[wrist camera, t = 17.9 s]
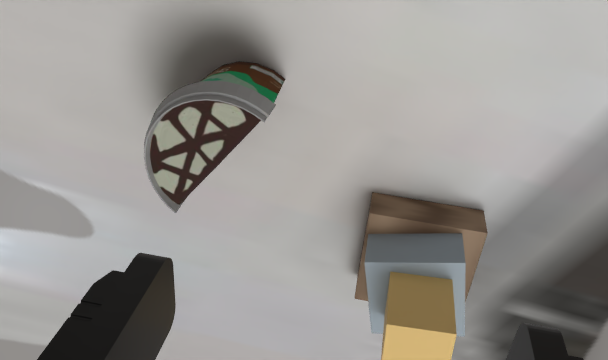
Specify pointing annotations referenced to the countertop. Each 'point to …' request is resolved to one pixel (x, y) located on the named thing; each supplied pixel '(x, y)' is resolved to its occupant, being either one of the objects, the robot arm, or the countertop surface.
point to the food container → (205, 126)
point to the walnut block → (424, 228)
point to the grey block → (414, 268)
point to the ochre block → (419, 318)
